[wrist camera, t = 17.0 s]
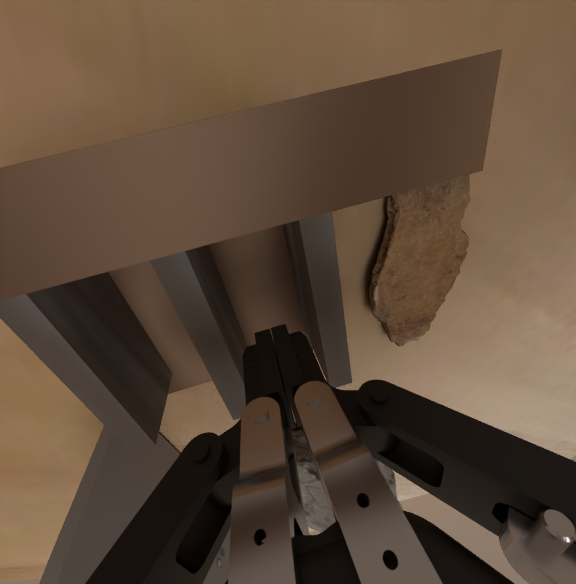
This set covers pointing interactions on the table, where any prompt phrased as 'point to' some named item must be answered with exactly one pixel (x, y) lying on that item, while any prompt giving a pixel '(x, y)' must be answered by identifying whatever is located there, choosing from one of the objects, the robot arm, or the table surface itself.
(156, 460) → the office telephone
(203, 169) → the drying rack
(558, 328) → the table surface
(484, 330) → the table surface
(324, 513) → the fossil stone
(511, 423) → the table surface
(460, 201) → the pottery shard
